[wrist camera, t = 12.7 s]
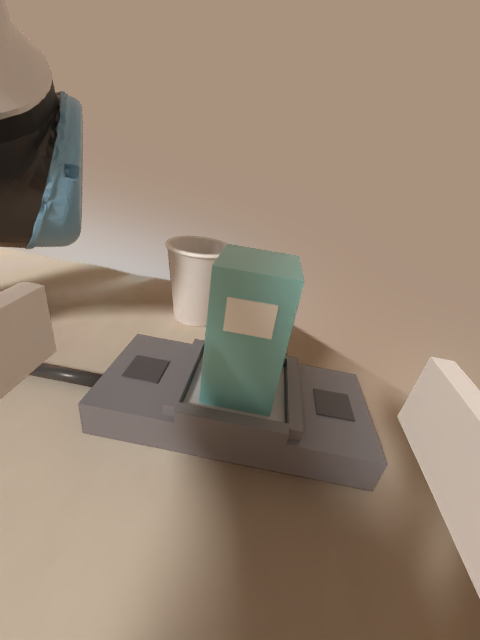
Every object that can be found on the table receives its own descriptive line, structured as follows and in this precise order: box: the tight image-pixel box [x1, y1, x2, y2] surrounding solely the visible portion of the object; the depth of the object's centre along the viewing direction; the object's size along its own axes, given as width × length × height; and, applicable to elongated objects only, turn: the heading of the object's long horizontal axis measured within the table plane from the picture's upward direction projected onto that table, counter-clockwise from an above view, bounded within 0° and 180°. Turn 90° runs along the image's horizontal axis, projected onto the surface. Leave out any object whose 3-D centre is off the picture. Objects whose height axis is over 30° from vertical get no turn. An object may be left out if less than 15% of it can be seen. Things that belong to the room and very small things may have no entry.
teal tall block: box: [199, 244, 304, 417], centre depth 23 cm, size 6×6×11 cm
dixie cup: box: [165, 236, 227, 327], centre depth 39 cm, size 8×8×10 cm
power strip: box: [29, 334, 388, 491], centre depth 26 cm, size 31×10×4 cm, turn 82°
